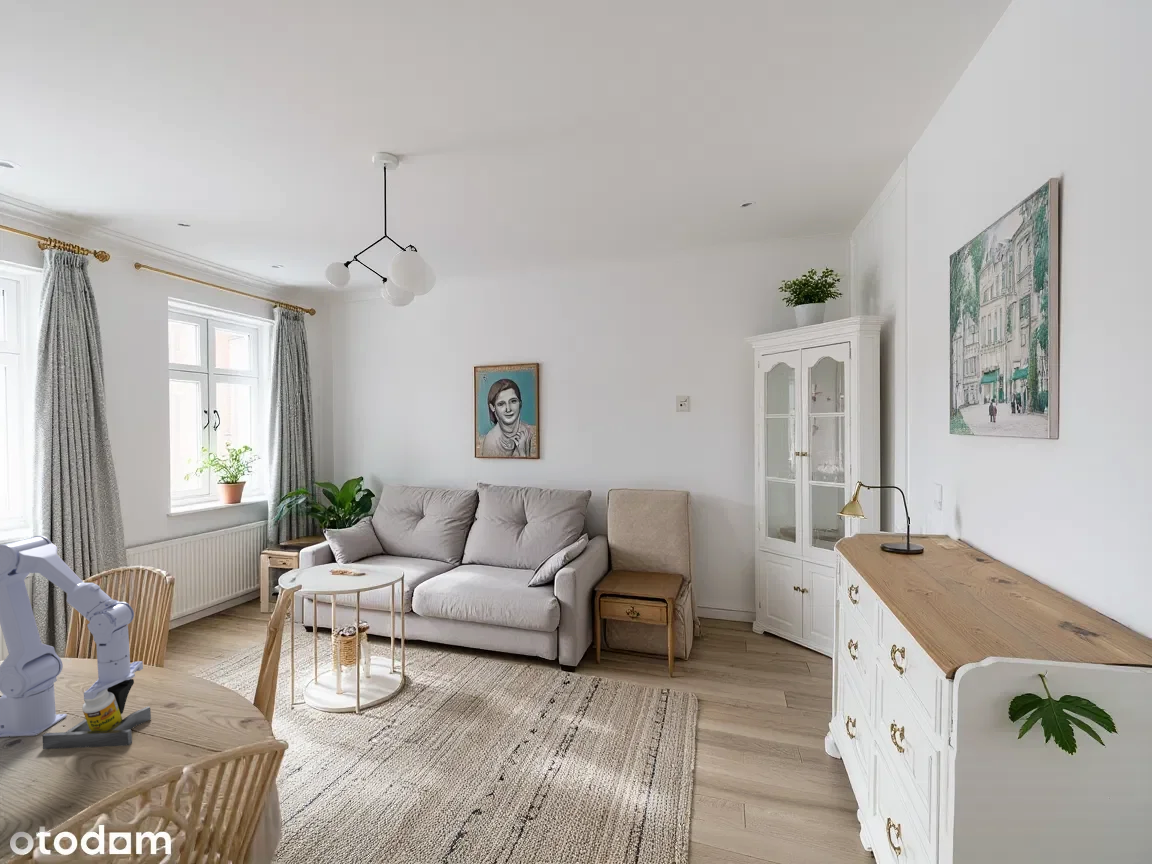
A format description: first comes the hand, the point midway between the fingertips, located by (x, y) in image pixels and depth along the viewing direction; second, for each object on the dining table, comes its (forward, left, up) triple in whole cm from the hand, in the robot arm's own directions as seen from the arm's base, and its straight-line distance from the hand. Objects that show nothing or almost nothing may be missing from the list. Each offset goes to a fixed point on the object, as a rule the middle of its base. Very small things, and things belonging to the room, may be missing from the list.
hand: (117, 714), depth 126 cm
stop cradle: (0, -3, -2) cm, 4 cm away
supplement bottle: (0, -3, -2) cm, 3 cm away
